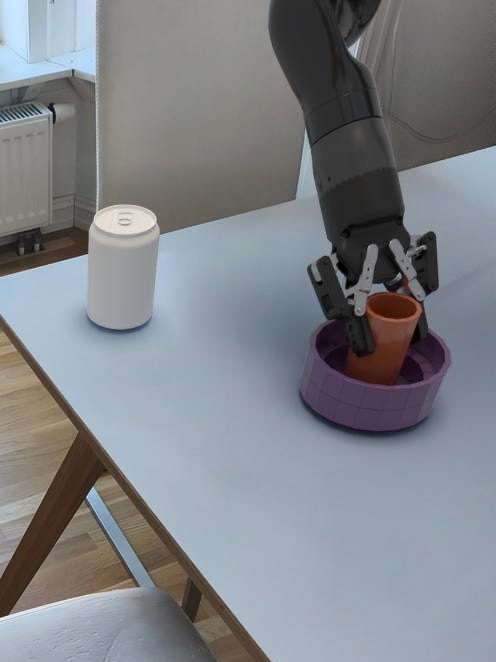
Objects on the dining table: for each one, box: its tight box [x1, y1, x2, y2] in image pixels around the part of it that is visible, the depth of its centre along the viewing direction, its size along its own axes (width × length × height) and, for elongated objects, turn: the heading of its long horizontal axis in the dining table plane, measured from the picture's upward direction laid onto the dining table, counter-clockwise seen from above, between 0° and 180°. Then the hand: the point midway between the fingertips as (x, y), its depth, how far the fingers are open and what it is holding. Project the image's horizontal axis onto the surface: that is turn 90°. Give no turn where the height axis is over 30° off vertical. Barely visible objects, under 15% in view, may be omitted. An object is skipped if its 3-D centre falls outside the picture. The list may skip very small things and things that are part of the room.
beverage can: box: [86, 204, 161, 330], centre depth 104 cm, size 8×8×12 cm
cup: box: [344, 291, 422, 386], centre depth 92 cm, size 6×6×8 cm
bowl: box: [298, 319, 452, 432], centre depth 95 cm, size 14×14×6 cm
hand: (392, 348), depth 91 cm, fingers closed on cup, 5 cm apart
